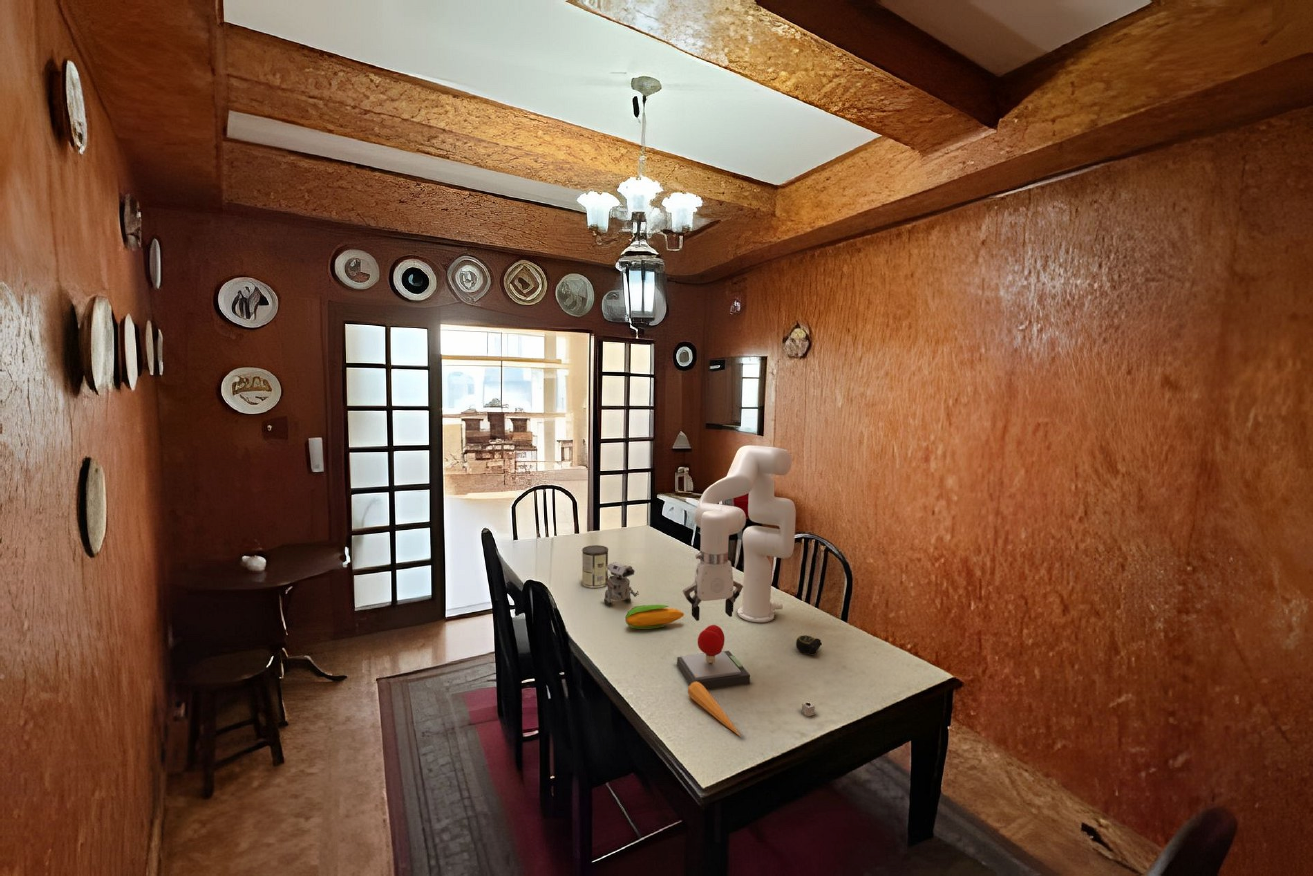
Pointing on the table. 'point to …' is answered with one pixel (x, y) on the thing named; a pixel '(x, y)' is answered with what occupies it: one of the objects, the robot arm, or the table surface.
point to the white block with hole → (808, 708)
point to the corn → (651, 616)
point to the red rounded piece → (711, 642)
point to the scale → (713, 670)
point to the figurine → (618, 583)
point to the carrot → (709, 704)
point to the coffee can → (594, 566)
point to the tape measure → (808, 644)
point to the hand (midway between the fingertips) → (712, 616)
